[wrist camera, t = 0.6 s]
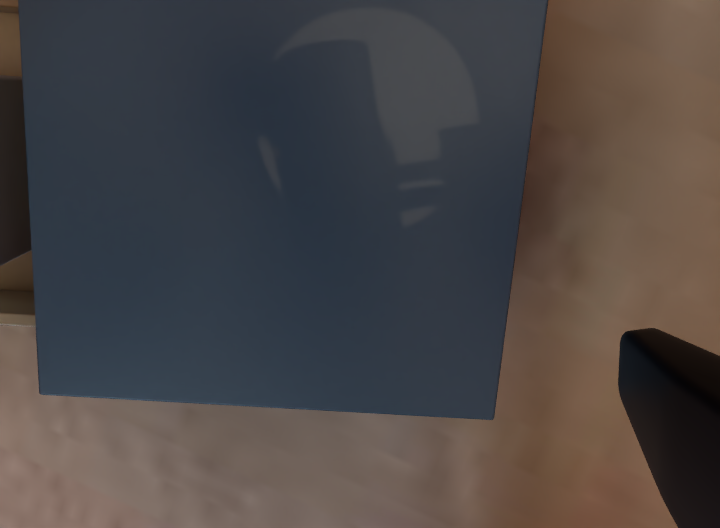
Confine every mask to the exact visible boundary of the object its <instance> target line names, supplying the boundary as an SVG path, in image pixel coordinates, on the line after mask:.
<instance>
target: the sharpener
mask: <svg viewBox="0 0 720 528" xmlns="http://www.w3.org/2000/svg"><path fill="white" fill-rule="evenodd" d="M29 251H31V231H30V213H29V195H28V176H27V158H26V140H25V122H24V103H23V85H22V77H20V76H6V75H0V266H2V265H4V264H5V263H7V262H9V261H11V260H13V259H15V258H17V257H19V256H21V255H23V254H25V253H27V252H29Z"/></svg>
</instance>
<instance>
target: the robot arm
mask: <svg viewBox="0 0 720 528" xmlns="http://www.w3.org/2000/svg"><path fill="white" fill-rule="evenodd" d="M618 386H619V393H620V397H621V400H622V403H623V405H624V408H625V410H626V412H627V415H628V417H629V420H630V422H631V424H632V427H633V429H634V432H635V434H636V437H637V439H638V441H639V444H640V446H641V449H642V451H643V454H644V456H645V458H646V461H647V463H648V466H649V468H650V470H651V473H652V475H653V478H654V480H655V483H656V485H657V487H658V489H659V492H660V494H661V496H662V498H663V500H664V502H665V504H666V506H667V508H668V510H669V512H670V514H671V515H672V517H673V519H674V521H675V523H676V524H677V526H678V528H720V356H718V355H716V354H714V353H711V352H709V351H707V350H704V349H702V348H700V347H697V346H695V345H693V344H691V343H688V342H686V341H684V340H681V339H679V338H677V337H674V336H672V335H670V334H668V333H665V332H663V331H661V330H658V329H655V328H647V329H640V330H632V331H627V332H625V333H624V334H623V335H622V338H621V341H620V356H619V377H618Z"/></svg>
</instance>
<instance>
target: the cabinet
mask: <svg viewBox="0 0 720 528" xmlns="http://www.w3.org/2000/svg"><path fill="white" fill-rule="evenodd" d="M547 6H548V0H18V12H19V30H20V49H21V67H22V85H23V103H24V122H25V140H26V158H27V176H28V195H29V213H30V231H31V250H32V268H33V286H34V304H35V323H36V341H37V359H38V378H39V393H40V394H41V395H56V396H74V397H92V398H110V399H127V400H145V401H163V402H181V403H199V404H217V405H235V406H252V407H270V408H288V409H306V410H324V411H342V412H360V413H377V414H395V415H413V416H431V417H449V418H467V419H484V420H493V419H494V415H495V407H496V399H497V392H498V384H499V376H500V369H501V361H502V353H503V345H504V338H505V330H506V322H507V315H508V307H509V299H510V291H511V284H512V276H513V268H514V261H515V253H516V245H517V238H518V230H519V222H520V214H521V207H522V199H523V191H524V184H525V176H526V168H527V161H528V153H529V145H530V137H531V130H532V122H533V114H534V107H535V99H536V91H537V83H538V76H539V68H540V60H541V53H542V45H543V37H544V30H545V22H546V14H547Z"/></svg>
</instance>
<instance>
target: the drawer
mask: <svg viewBox="0 0 720 528" xmlns="http://www.w3.org/2000/svg"><path fill="white" fill-rule="evenodd" d="M0 75H6V76H20V77H22V67H21V49H20V30H19V12H18V0H0ZM0 325H13V326H30V327H36V323H35V304H34V286H33V268H32V250H31V251H29V252H27V253H25V254H23V255H21V256H19V257H17V258H15V259H13V260H11V261H9V262H7V263H5V264H4V265H2V266H0Z"/></svg>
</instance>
